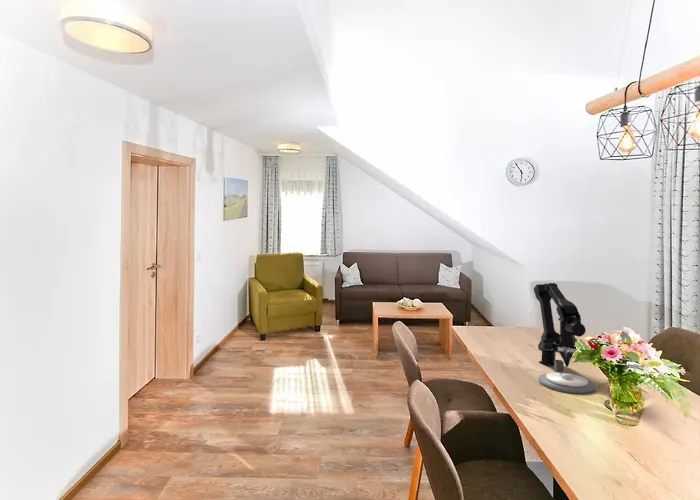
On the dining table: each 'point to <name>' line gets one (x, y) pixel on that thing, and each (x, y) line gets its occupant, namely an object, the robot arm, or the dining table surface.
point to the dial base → (575, 390)
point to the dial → (565, 376)
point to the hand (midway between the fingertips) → (567, 366)
